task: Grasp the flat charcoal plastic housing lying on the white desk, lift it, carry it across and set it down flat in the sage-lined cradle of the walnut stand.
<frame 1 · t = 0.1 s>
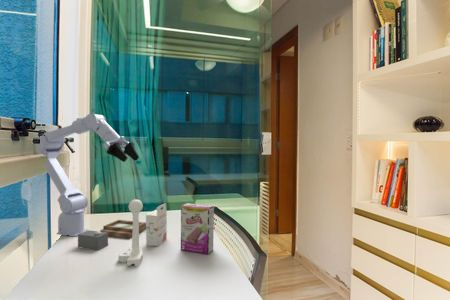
hand: (131, 159, 111), 32 cm above the table, tool tilted 50°, fingers open, 7 cm apart
stand: (125, 231, 122), on the table
candy bar box: (197, 251, 102), on the table
housing: (93, 246, 105), on the table
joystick: (130, 260, 94), on the table
ink cartridge box: (156, 242, 110), on the table
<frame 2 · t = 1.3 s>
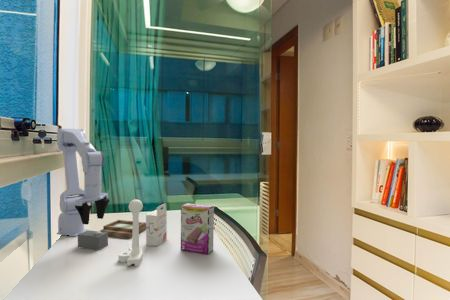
hand: (93, 221, 105), 9 cm above the table, tool pointing down, fingers open, 7 cm apart
nothing on the table moved.
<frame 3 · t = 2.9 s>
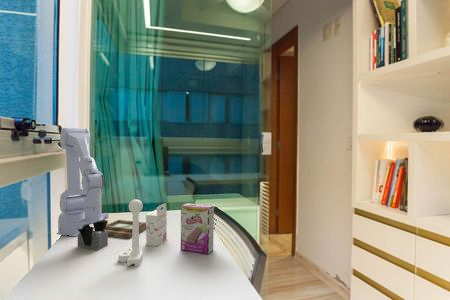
hand: (93, 242, 105), 1 cm above the table, tool pointing down, fingers closed on housing, 5 cm apart
housing: (92, 246, 105), on the table, touching gripper
everything else where it was.
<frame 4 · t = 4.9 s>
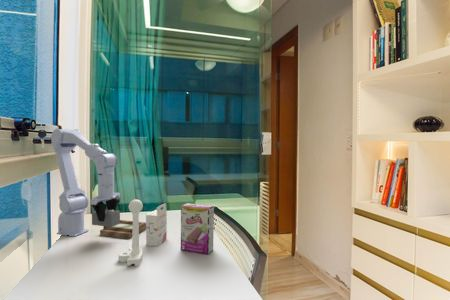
hand: (106, 219, 111), 8 cm above the table, tool pointing down, fingers closed on housing, 5 cm apart
housing: (106, 224, 111), point 6 cm above the table, touching gripper
everything else where it was.
when the fingers open (5 cm above the table, at t = 7.1 s): housing stays where it is, resting on stand.
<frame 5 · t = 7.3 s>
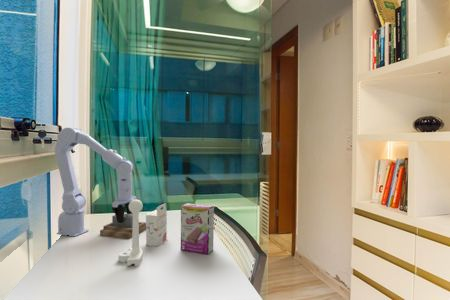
hand: (125, 220, 122), 5 cm above the table, tool pointing down, fingers open, 6 cm apart
housing: (125, 226, 122), point 2 cm above the table, touching stand
everything else where it was.
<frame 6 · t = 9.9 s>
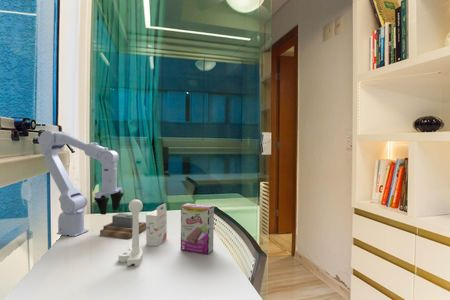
hand: (109, 212, 118), 9 cm above the table, tool pointing down, fingers open, 7 cm apart
nothing on the table moved.
at the end: housing 0.0 cm off-centre on the stand, point 2.0 cm above the stand's base; housing tilted 0°; the gripper is holding nothing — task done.
